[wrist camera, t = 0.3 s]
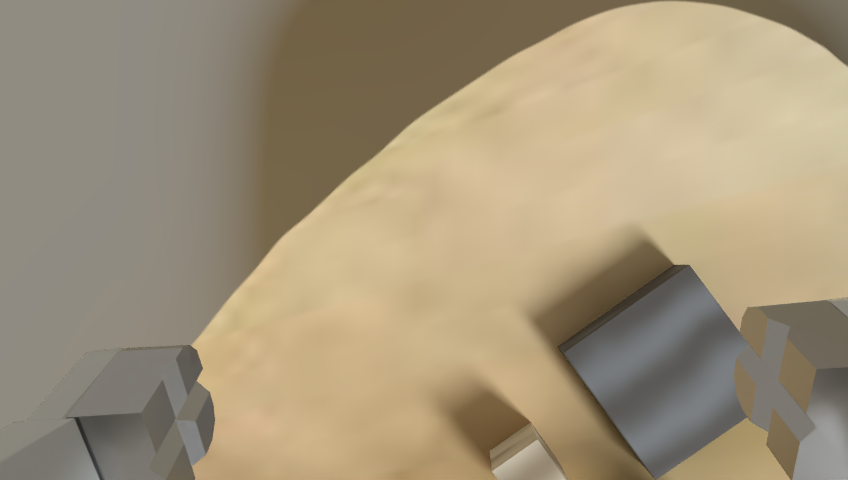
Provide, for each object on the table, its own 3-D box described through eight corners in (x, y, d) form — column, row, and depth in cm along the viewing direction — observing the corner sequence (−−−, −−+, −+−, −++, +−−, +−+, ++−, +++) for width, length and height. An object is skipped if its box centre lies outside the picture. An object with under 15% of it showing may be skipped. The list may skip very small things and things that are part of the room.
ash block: (560, 464, 60) (571, 486, 54) (519, 493, 61) (524, 518, 55) (530, 422, 61) (537, 439, 55) (489, 450, 61) (491, 471, 55)
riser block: (762, 382, 59) (784, 391, 55) (643, 465, 60) (655, 480, 56) (674, 264, 60) (689, 264, 56) (557, 346, 61) (564, 352, 57)
